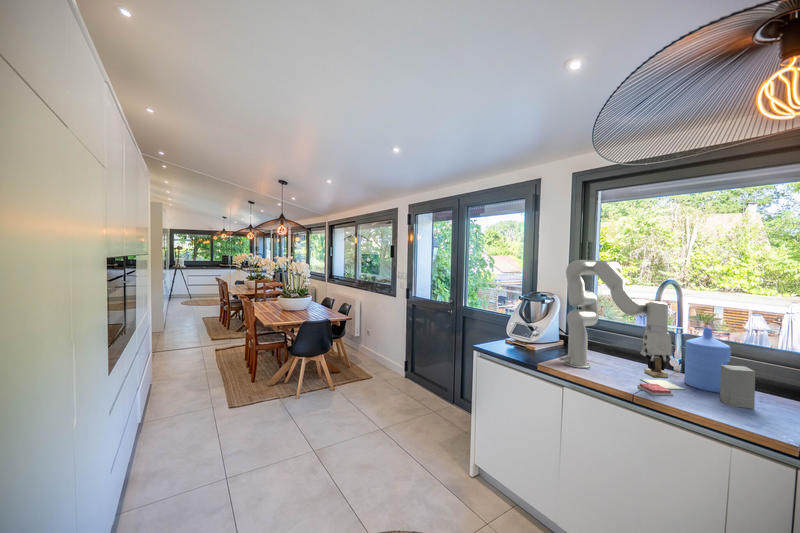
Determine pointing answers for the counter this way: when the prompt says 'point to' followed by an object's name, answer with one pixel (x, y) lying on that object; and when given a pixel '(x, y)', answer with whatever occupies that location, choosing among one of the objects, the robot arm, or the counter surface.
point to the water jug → (705, 361)
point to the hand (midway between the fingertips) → (656, 368)
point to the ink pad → (655, 389)
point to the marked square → (663, 384)
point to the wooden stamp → (656, 370)
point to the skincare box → (737, 386)
